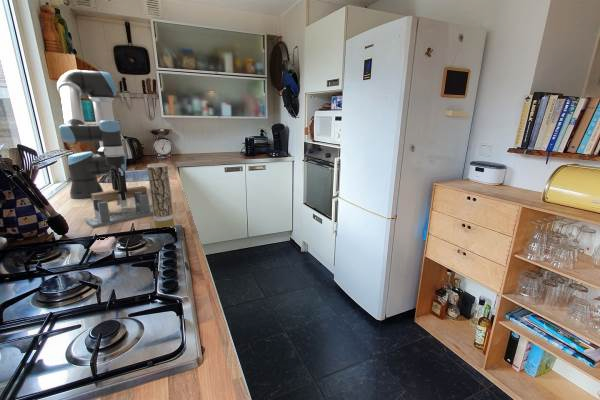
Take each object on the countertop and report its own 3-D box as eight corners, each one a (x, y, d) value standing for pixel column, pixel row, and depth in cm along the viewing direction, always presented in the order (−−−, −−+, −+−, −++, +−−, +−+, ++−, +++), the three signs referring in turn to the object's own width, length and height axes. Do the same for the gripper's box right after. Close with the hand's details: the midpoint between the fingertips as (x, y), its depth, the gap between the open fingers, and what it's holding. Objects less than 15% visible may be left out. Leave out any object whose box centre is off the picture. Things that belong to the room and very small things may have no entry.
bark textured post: (167, 232, 115) (159, 166, 109) (151, 230, 117) (142, 165, 110) (177, 225, 122) (171, 163, 115) (162, 224, 123) (155, 162, 116)
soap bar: (116, 242, 107) (115, 235, 106) (109, 253, 98) (108, 246, 98) (98, 244, 105) (97, 237, 104) (89, 255, 97) (88, 248, 96)
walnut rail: (92, 202, 136) (91, 193, 135) (143, 193, 152) (142, 185, 151) (95, 204, 133) (93, 195, 132) (147, 195, 149) (146, 187, 148)
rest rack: (97, 212, 139) (95, 201, 138) (141, 203, 152) (139, 194, 151) (101, 214, 135) (99, 203, 134) (146, 206, 149) (144, 196, 147)
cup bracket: (85, 221, 126) (81, 200, 123) (150, 208, 144) (147, 190, 142) (92, 227, 119) (88, 205, 117) (159, 213, 138) (157, 193, 135)
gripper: (99, 154, 140) (107, 203, 146) (111, 158, 129) (119, 211, 135) (117, 153, 146) (124, 200, 152) (130, 156, 134) (137, 207, 140)
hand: (122, 205), depth 143 cm, fingers open, 4 cm apart
